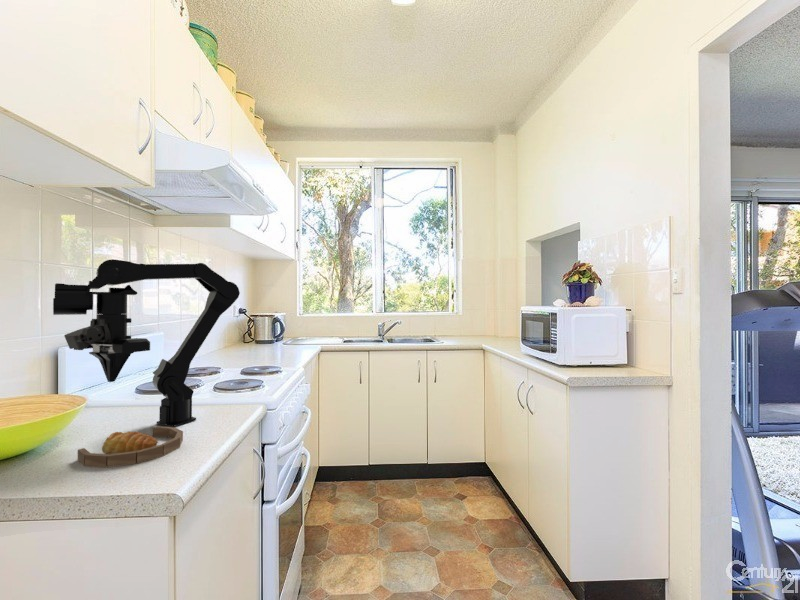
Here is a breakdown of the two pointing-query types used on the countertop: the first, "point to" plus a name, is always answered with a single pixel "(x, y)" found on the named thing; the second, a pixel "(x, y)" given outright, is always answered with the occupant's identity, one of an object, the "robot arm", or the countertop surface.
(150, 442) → the pastry
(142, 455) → the walnut open arc
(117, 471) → the countertop surface
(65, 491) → the countertop surface
